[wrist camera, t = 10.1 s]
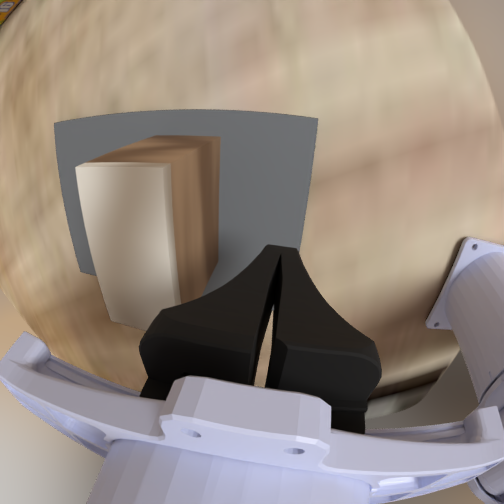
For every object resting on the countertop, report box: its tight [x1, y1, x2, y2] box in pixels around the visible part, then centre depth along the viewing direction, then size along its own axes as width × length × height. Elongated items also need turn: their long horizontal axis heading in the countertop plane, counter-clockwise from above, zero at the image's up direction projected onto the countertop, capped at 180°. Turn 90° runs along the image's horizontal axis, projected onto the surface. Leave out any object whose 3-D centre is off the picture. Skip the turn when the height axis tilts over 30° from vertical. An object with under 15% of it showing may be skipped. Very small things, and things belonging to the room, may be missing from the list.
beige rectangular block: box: [75, 135, 221, 331], centre depth 14 cm, size 4×8×7 cm, turn 177°
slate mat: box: [54, 109, 318, 310], centre depth 18 cm, size 18×13×1 cm
